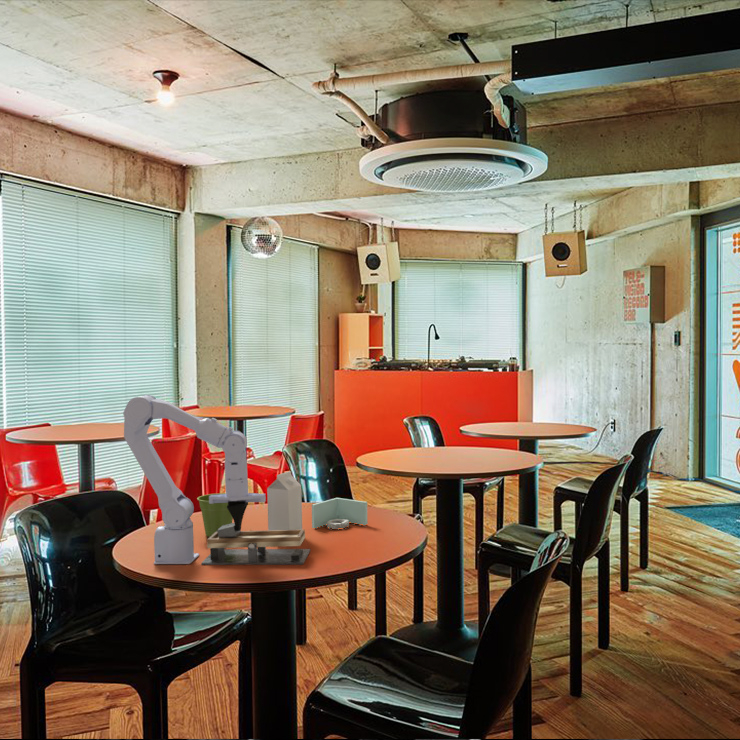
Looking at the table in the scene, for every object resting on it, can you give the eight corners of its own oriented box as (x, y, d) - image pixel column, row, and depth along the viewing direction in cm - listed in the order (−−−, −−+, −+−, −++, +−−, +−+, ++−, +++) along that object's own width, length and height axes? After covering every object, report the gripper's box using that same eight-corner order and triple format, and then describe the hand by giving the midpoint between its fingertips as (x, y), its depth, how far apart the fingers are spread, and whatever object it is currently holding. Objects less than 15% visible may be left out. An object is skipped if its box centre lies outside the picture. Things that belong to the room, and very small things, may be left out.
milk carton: (268, 540, 194) (266, 474, 194) (281, 534, 201) (280, 470, 200) (289, 543, 191) (287, 475, 191) (302, 537, 198) (301, 471, 197)
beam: (207, 548, 175) (206, 539, 175) (216, 539, 183) (215, 531, 183) (300, 545, 173) (299, 537, 173) (305, 537, 181) (304, 529, 181)
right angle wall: (312, 529, 207) (311, 504, 207) (337, 521, 217) (336, 497, 216) (343, 534, 200) (342, 509, 200) (367, 526, 209) (367, 501, 209)
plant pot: (231, 540, 196) (230, 501, 195) (191, 540, 197) (190, 501, 197) (244, 529, 207) (243, 492, 207) (206, 529, 209) (205, 492, 209)
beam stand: (200, 565, 173) (200, 544, 173) (215, 550, 185) (214, 531, 185) (302, 565, 171) (302, 543, 171) (310, 550, 184) (310, 530, 183)
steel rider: (219, 541, 176) (216, 530, 176) (225, 536, 181) (222, 525, 181) (236, 537, 176) (233, 526, 176) (241, 532, 181) (238, 521, 181)
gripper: (204, 481, 175) (206, 534, 175) (260, 480, 174) (262, 533, 174) (212, 476, 182) (214, 527, 182) (266, 475, 181) (268, 526, 181)
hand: (238, 530), depth 178 cm, fingers closed, pressing on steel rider
